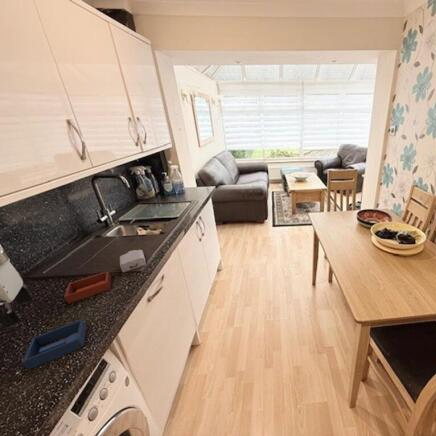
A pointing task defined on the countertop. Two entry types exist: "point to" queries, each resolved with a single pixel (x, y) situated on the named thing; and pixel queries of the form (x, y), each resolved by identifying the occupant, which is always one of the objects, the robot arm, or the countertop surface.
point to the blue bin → (36, 360)
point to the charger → (132, 260)
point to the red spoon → (90, 286)
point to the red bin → (72, 296)
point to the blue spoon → (58, 343)
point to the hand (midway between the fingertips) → (19, 311)
